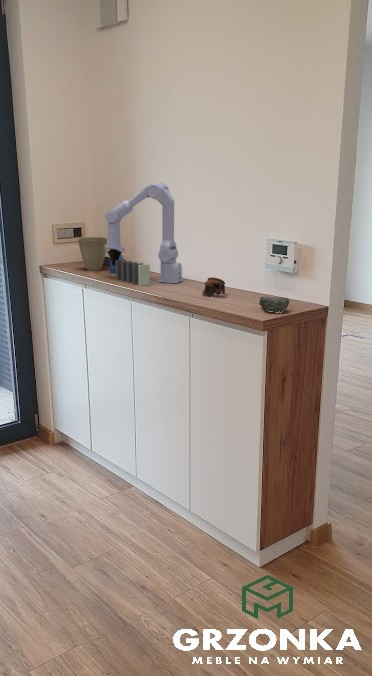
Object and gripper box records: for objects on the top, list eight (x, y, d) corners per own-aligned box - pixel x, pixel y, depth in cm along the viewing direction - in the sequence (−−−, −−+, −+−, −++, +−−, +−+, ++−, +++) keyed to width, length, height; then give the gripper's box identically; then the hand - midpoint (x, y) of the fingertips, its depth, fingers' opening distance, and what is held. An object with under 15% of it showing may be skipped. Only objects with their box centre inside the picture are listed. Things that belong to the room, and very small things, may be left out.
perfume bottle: (124, 271, 299) (124, 248, 295) (122, 273, 293) (121, 249, 289) (112, 271, 299) (112, 247, 296) (110, 273, 293) (109, 249, 290)
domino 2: (121, 281, 272) (120, 261, 269) (130, 280, 275) (130, 260, 272) (123, 281, 271) (122, 262, 268) (132, 280, 274) (131, 261, 271)
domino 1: (116, 279, 275) (115, 260, 273) (125, 278, 278) (124, 259, 276) (117, 280, 274) (117, 261, 272) (126, 279, 277) (126, 260, 275)
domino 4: (132, 283, 265) (132, 264, 262) (141, 282, 268) (141, 263, 265) (134, 284, 264) (134, 264, 261) (143, 283, 267) (143, 263, 264)
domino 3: (126, 282, 268) (126, 262, 266) (135, 281, 271) (135, 261, 269) (128, 283, 267) (128, 263, 265) (137, 281, 270) (137, 262, 268)
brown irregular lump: (196, 295, 242) (201, 277, 243) (214, 304, 246) (219, 285, 248) (212, 293, 231) (217, 273, 233) (231, 301, 236) (236, 282, 237)
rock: (294, 311, 212) (295, 298, 211) (275, 315, 206) (275, 301, 205) (269, 305, 221) (269, 292, 220) (249, 309, 215) (250, 296, 214)
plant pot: (77, 268, 310) (76, 237, 306) (105, 266, 314) (104, 236, 310) (81, 272, 296) (79, 240, 292) (110, 271, 300) (109, 239, 296)
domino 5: (138, 285, 261) (138, 265, 259) (147, 284, 264) (147, 264, 262) (140, 285, 260) (140, 265, 258) (149, 284, 263) (149, 264, 261)
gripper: (98, 235, 278) (99, 264, 282) (115, 238, 267) (116, 268, 271) (111, 235, 282) (112, 263, 286) (128, 237, 271) (128, 266, 275)
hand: (114, 265), depth 279 cm, fingers closed
